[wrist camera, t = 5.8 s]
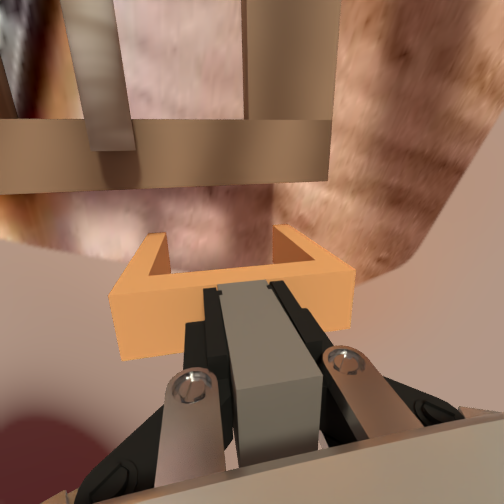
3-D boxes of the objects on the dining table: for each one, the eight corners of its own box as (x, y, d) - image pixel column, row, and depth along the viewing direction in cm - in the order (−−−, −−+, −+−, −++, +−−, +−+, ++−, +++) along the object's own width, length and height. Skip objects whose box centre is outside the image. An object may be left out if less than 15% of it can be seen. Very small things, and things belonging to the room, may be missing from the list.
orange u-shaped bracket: (287, 223, 21) (473, 349, 7) (287, 260, 22) (449, 436, 8) (148, 233, 19) (22, 426, 5) (154, 273, 20) (60, 526, 6)
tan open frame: (276, -1, 24) (379, -183, 11) (274, 169, 28) (343, 184, 16) (-57, -30, 19) (-565, -403, 6) (8, 178, 24) (-203, 208, 11)
